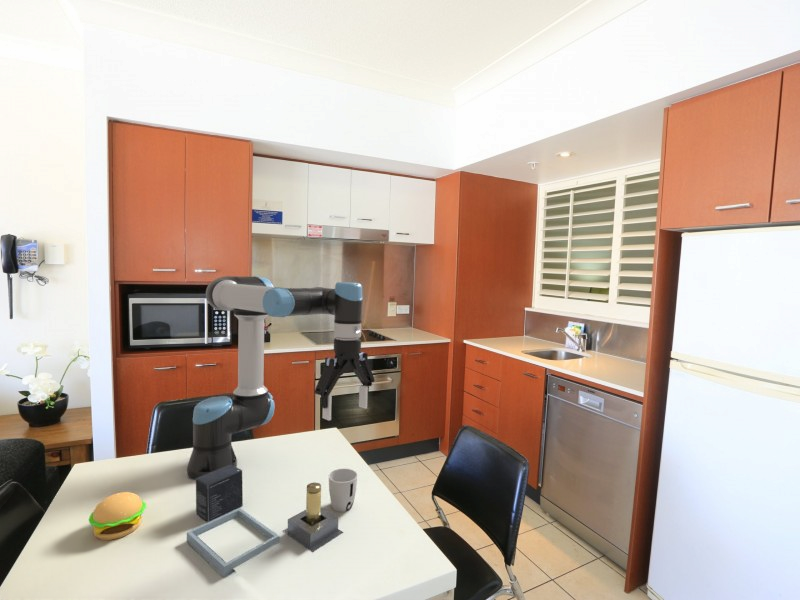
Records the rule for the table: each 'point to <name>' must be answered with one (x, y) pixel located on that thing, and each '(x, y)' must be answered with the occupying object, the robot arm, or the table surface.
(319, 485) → the pin
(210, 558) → the tray
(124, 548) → the table surface
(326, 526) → the block
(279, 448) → the table surface
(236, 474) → the box
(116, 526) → the hamburger
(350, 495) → the cup
